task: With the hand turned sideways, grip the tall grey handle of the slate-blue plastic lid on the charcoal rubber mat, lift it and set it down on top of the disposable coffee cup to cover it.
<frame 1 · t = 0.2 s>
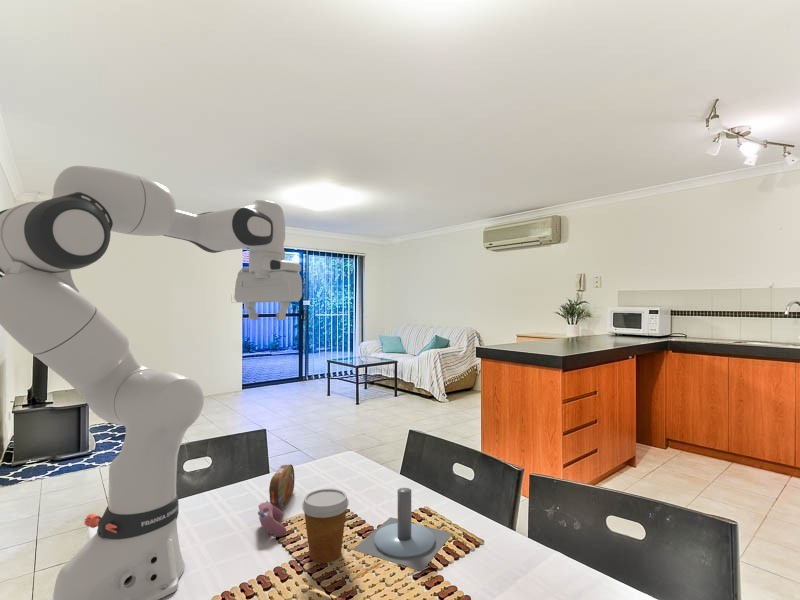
hand: (266, 320, 110), 48 cm above the table, tool pointing down, fingers open, 8 cm apart
tin: (282, 502, 114), on the table
mat: (404, 543, 93), on the table
video game controller: (271, 530, 100), on the table
lid: (404, 541, 93), resting on mat
disposable coffee cup: (325, 557, 89), on the table
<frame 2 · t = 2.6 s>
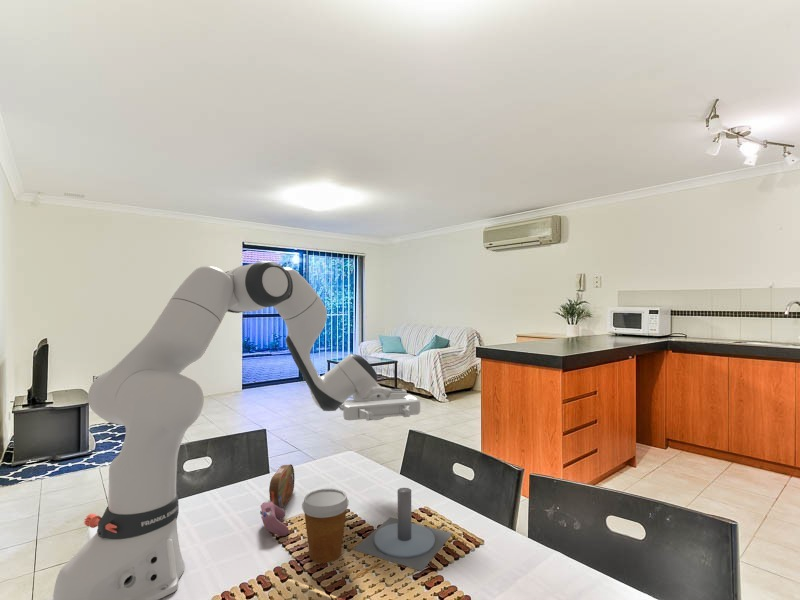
hand: (388, 415, 106), 25 cm above the table, tool horizontal, fingers open, 8 cm apart
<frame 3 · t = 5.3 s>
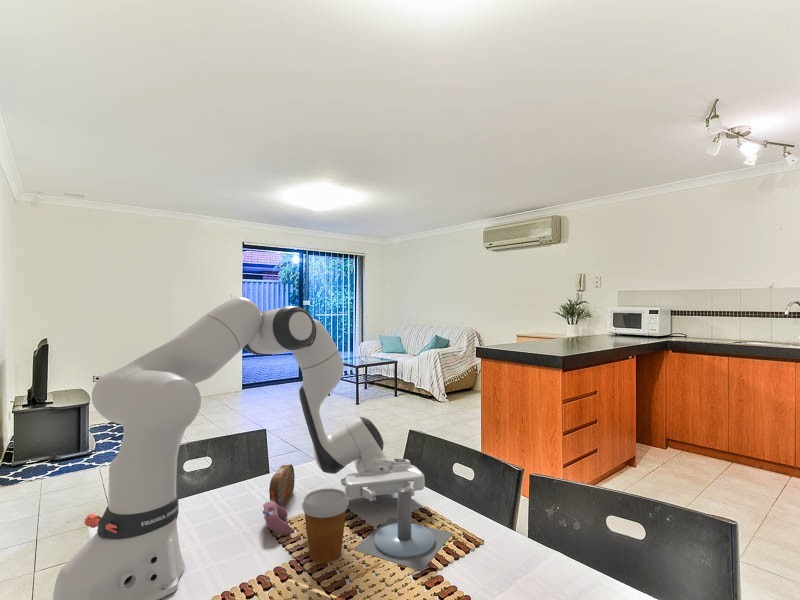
hand: (392, 495, 102), 7 cm above the table, tool horizontal, fingers open, 8 cm apart
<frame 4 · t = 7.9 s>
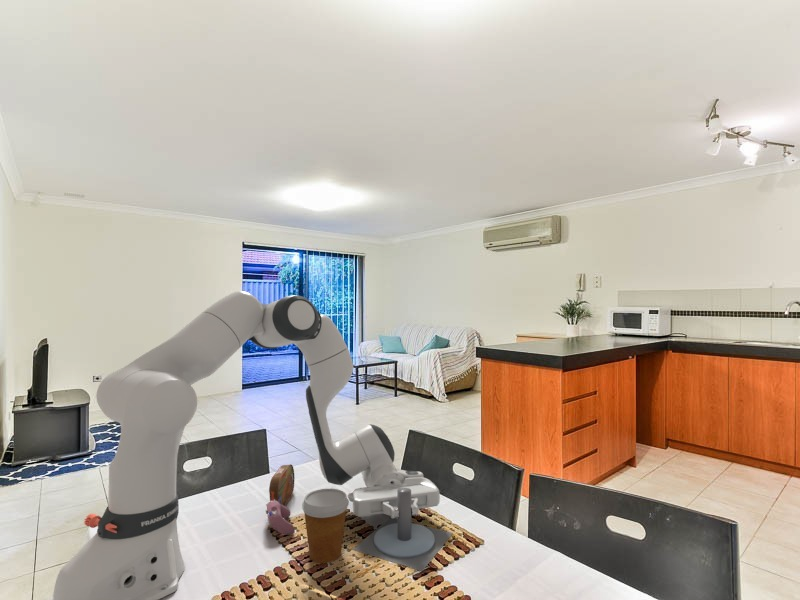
hand: (405, 513, 93), 7 cm above the table, tool horizontal, fingers closed on lid, 3 cm apart
lid: (404, 541, 93), resting on mat, touching gripper
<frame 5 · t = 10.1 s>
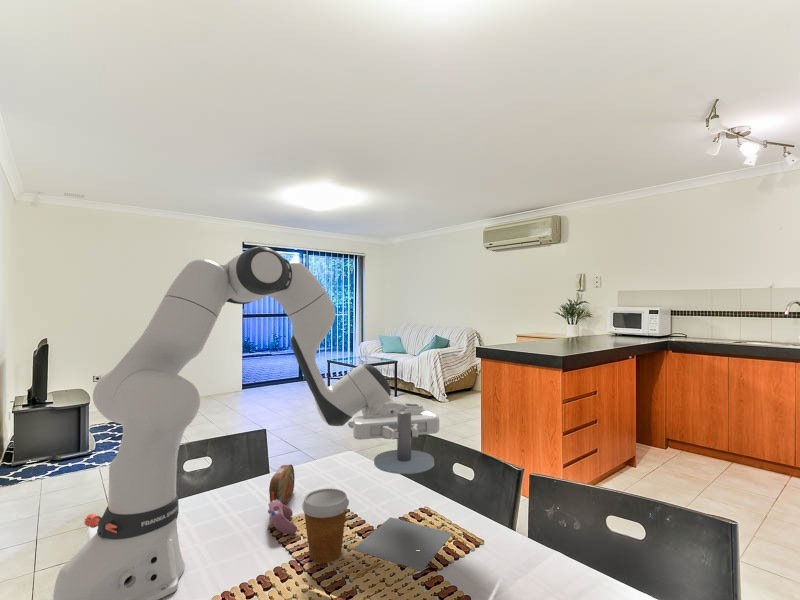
hand: (405, 434, 93), 24 cm above the table, tool horizontal, fingers closed on lid, 3 cm apart
lid: (404, 462, 94), point 17 cm above the table, touching gripper
when the fingers open (20 cm above the table, at t = 12.8 s): lid drops 1 cm, resting on disposable coffee cup.
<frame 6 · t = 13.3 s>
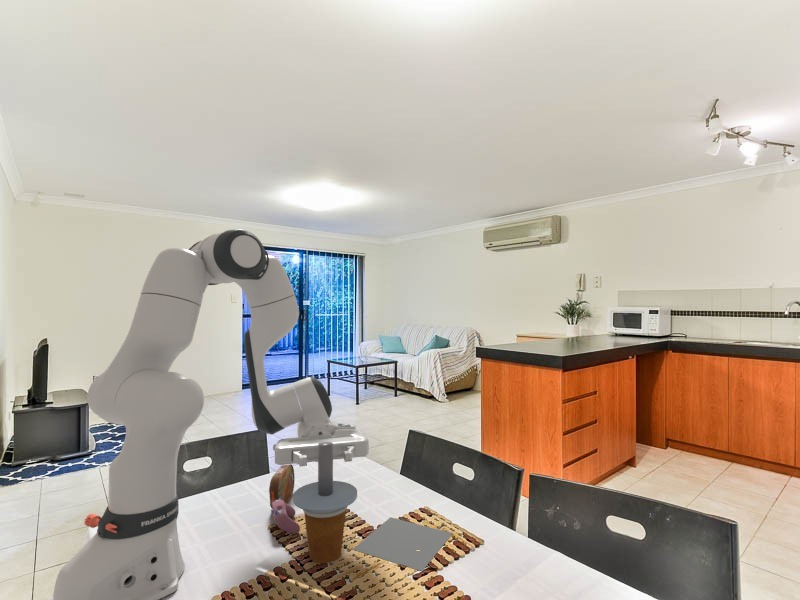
hand: (326, 460, 88), 20 cm above the table, tool horizontal, fingers open, 8 cm apart
lid: (325, 497, 89), point 12 cm above the table, touching disposable coffee cup
disposable coffee cup: (325, 557, 89), on the table, touching lid
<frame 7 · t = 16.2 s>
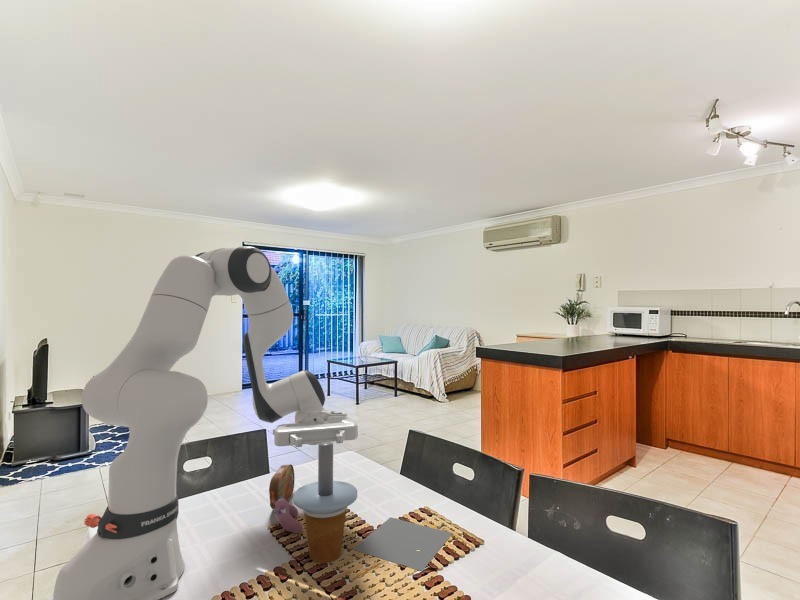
hand: (319, 441, 101), 20 cm above the table, tool horizontal, fingers open, 8 cm apart
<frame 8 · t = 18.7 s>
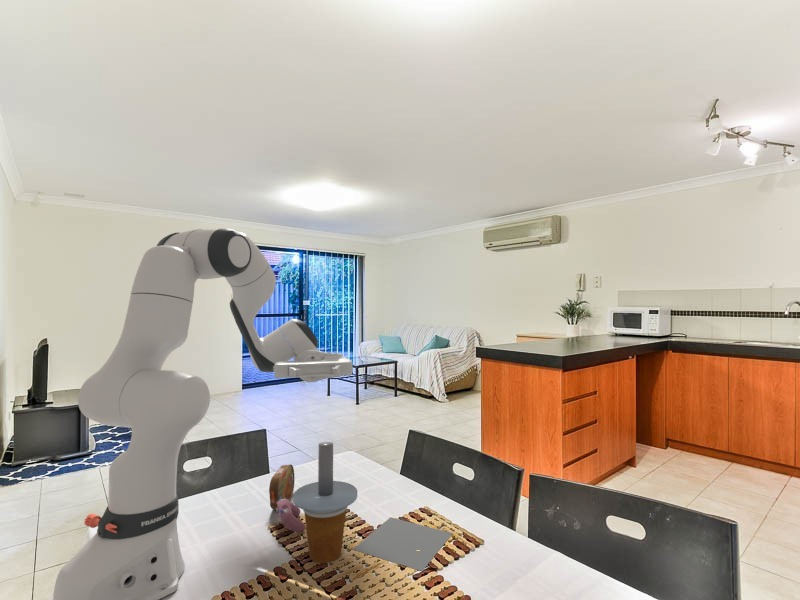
hand: (316, 372, 108), 35 cm above the table, tool horizontal, fingers open, 8 cm apart
at the end: lid 0.0 cm from the disposable coffee cup (horizontally); lid point 12.0 cm above the table; lid tilted 0° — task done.
